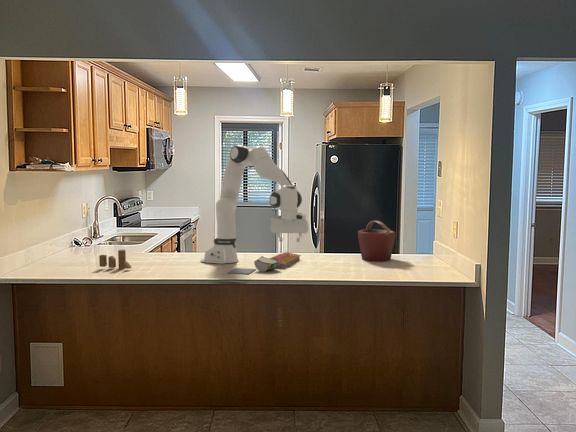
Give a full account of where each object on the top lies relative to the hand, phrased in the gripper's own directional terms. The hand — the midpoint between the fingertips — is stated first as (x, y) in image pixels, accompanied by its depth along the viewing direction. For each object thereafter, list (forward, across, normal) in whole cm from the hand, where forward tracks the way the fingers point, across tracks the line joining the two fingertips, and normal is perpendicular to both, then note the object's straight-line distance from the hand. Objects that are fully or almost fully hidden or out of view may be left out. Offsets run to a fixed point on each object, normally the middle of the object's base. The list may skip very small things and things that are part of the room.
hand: (289, 241), depth 293 cm
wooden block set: (+16, -96, -8) cm, 98 cm away
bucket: (+18, +43, +55) cm, 72 cm away
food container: (+15, -16, +2) cm, 22 cm away
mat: (+17, -27, 0) cm, 32 cm away
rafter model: (+18, -11, +31) cm, 37 cm away
